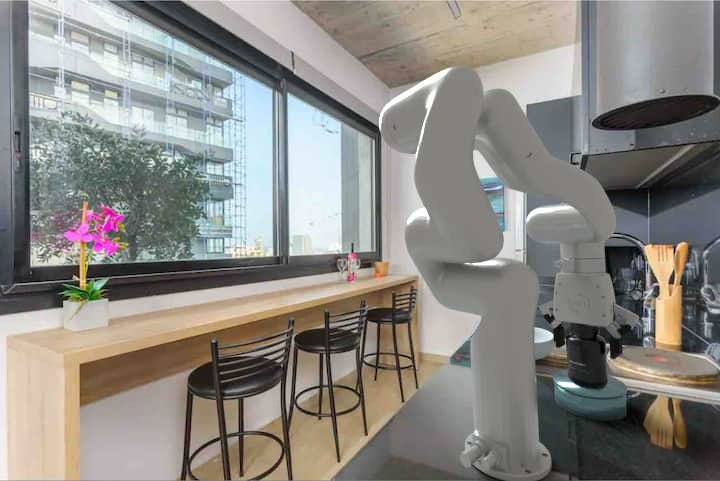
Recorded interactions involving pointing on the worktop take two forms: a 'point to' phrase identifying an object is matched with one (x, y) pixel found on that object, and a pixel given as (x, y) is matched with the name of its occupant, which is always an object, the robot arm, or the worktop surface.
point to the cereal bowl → (543, 343)
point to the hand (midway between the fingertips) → (586, 351)
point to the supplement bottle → (586, 356)
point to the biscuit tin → (591, 398)
